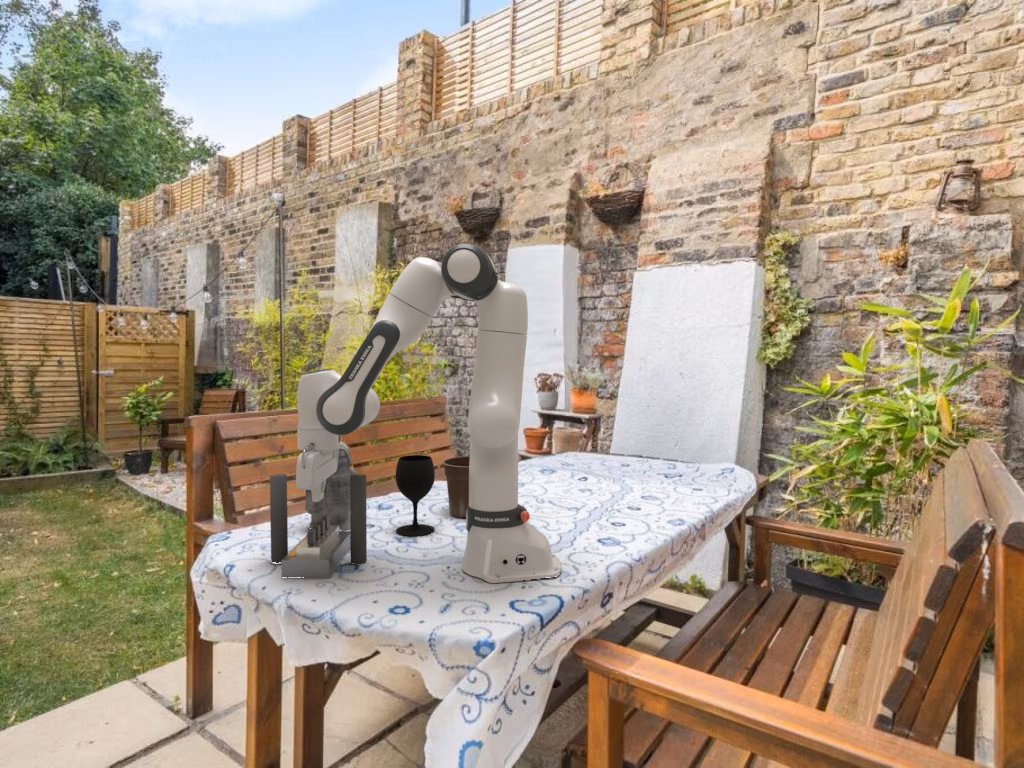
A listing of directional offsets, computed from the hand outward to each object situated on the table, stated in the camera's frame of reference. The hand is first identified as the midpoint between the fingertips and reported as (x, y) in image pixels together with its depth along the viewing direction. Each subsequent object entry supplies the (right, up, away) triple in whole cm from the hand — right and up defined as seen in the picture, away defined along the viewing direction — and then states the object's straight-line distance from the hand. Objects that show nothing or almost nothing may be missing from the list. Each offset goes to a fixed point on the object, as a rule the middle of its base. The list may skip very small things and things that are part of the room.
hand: (317, 500), depth 133 cm
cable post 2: (+9, -14, +1) cm, 17 cm away
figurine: (-5, -13, +27) cm, 30 cm away
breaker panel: (0, -14, +1) cm, 14 cm away
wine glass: (+18, -13, +24) cm, 33 cm away
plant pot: (+32, -13, +42) cm, 54 cm away
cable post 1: (-9, -14, 0) cm, 17 cm away
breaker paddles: (0, -8, 0) cm, 8 cm away
